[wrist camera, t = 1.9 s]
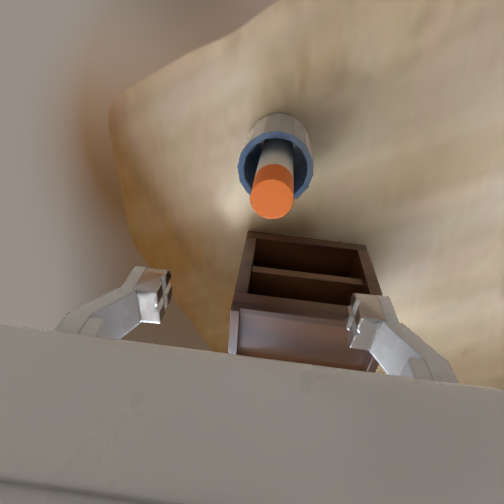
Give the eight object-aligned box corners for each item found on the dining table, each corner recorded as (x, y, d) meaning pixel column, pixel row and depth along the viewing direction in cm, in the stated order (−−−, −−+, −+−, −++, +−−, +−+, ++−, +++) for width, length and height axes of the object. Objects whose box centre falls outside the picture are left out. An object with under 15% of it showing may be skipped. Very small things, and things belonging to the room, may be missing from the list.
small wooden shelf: (247, 231, 39) (230, 310, 28) (365, 245, 38) (395, 331, 27) (243, 288, 44) (227, 373, 33) (347, 301, 43) (365, 392, 32)
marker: (276, 125, 31) (268, 170, 21) (299, 145, 32) (303, 197, 22) (256, 149, 32) (241, 202, 23) (279, 168, 33) (274, 226, 23)
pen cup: (273, 98, 30) (269, 114, 24) (322, 141, 32) (329, 165, 26) (235, 150, 33) (223, 175, 27) (281, 186, 35) (279, 217, 29)
